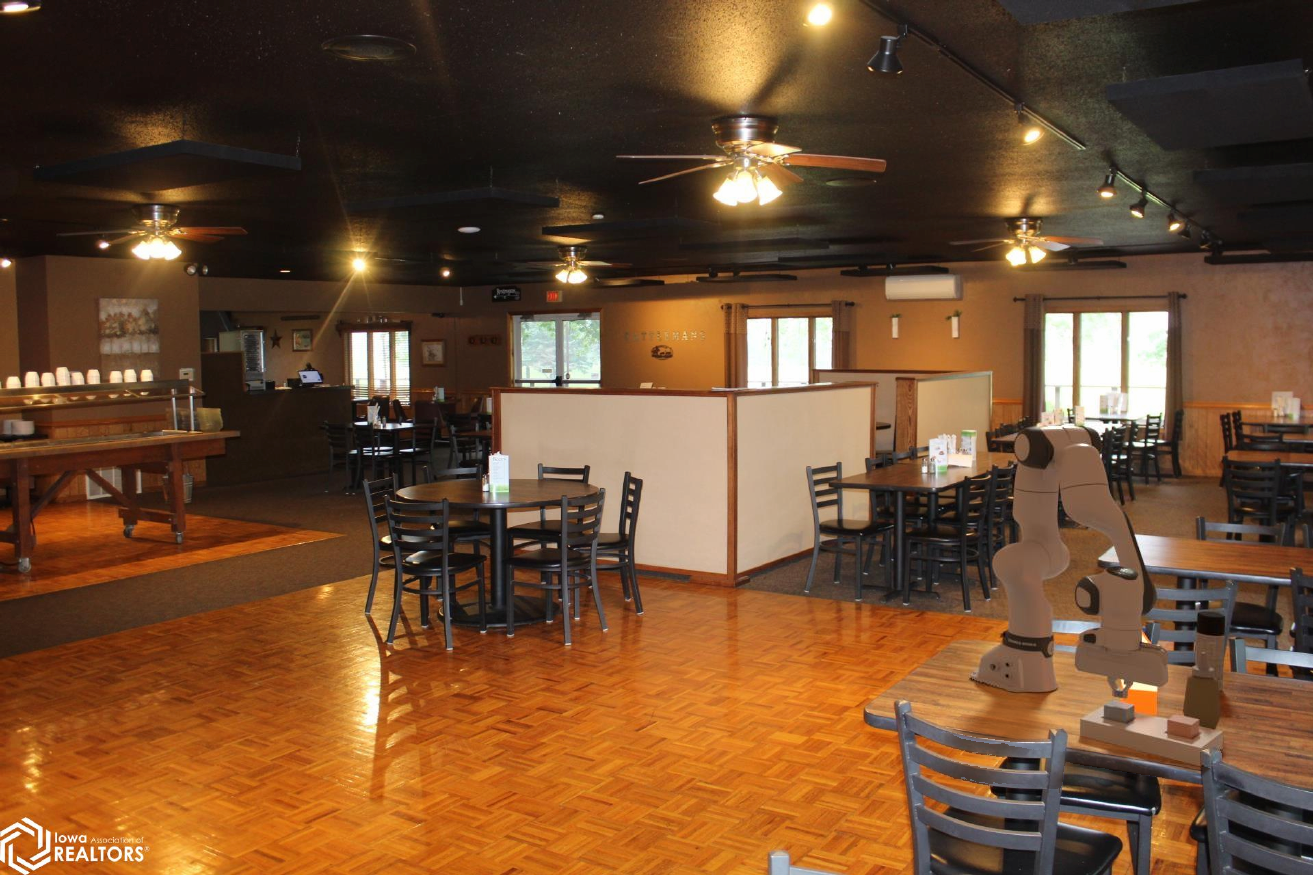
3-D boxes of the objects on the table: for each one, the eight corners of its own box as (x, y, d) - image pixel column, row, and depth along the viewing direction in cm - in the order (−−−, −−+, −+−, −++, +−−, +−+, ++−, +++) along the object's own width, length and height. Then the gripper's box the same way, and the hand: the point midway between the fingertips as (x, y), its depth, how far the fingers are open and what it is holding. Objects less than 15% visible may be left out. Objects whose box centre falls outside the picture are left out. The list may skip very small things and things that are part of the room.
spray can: (1216, 684, 277) (1218, 610, 276) (1227, 692, 271) (1230, 617, 269) (1190, 684, 278) (1192, 610, 277) (1200, 692, 271) (1203, 616, 270)
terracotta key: (1166, 737, 231) (1167, 719, 231) (1175, 731, 234) (1175, 714, 234) (1190, 742, 227) (1191, 724, 227) (1198, 736, 231) (1199, 719, 231)
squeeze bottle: (1174, 722, 249) (1177, 648, 247) (1207, 721, 249) (1209, 647, 248) (1195, 734, 241) (1197, 658, 239) (1228, 733, 241) (1230, 657, 240)
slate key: (1103, 721, 241) (1103, 704, 241) (1112, 716, 244) (1112, 699, 244) (1125, 727, 237) (1125, 709, 237) (1134, 721, 241) (1134, 704, 241)
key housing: (1079, 735, 240) (1080, 718, 240) (1105, 720, 250) (1105, 704, 250) (1200, 766, 222) (1200, 747, 222) (1222, 748, 232) (1222, 731, 231)
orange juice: (1122, 712, 256) (1124, 632, 255) (1119, 701, 265) (1121, 623, 263) (1157, 715, 254) (1159, 635, 252) (1153, 704, 262) (1155, 626, 261)
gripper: (1173, 643, 234) (1172, 703, 235) (1083, 628, 249) (1082, 684, 250) (1163, 649, 230) (1161, 710, 231) (1072, 633, 244) (1071, 690, 245)
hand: (1120, 697), depth 240 cm, fingers closed
